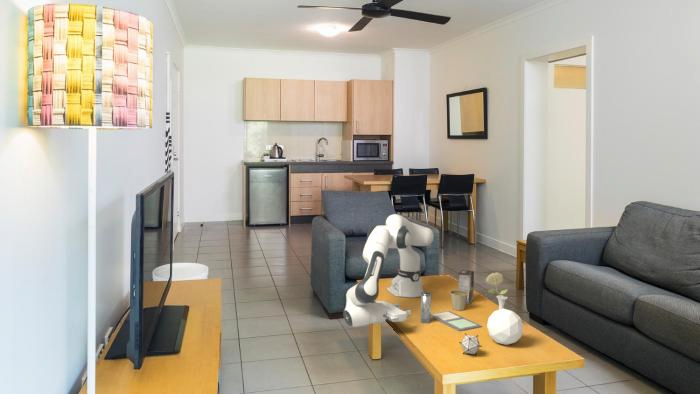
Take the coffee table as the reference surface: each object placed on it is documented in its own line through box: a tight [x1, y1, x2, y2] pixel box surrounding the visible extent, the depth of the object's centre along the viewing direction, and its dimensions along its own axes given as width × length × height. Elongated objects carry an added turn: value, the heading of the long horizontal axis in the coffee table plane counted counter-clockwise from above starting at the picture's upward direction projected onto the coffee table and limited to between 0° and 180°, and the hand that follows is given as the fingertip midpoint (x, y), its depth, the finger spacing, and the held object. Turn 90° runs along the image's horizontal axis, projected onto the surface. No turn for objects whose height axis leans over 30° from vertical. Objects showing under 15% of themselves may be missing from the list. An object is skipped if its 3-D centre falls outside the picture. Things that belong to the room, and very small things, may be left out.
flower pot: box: [449, 289, 468, 312], centre depth 262 cm, size 9×9×9 cm
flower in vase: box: [485, 272, 508, 310], centre depth 237 cm, size 13×11×25 cm
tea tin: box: [420, 291, 432, 325], centre depth 241 cm, size 5×5×14 cm
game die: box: [459, 332, 483, 357], centre depth 204 cm, size 9×8×10 cm
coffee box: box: [457, 269, 475, 305], centre depth 275 cm, size 9×6×16 cm
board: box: [430, 310, 483, 332], centre depth 243 cm, size 24×13×1 cm, turn 27°
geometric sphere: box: [486, 308, 524, 346], centre depth 216 cm, size 14×15×15 cm
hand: (404, 308), depth 236 cm, fingers open, 8 cm apart
